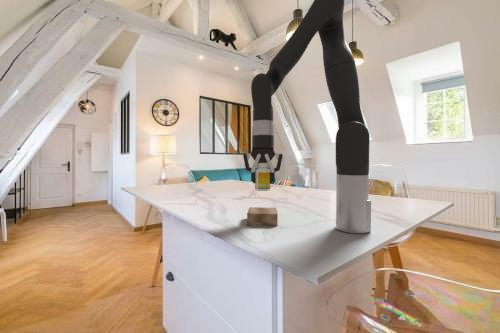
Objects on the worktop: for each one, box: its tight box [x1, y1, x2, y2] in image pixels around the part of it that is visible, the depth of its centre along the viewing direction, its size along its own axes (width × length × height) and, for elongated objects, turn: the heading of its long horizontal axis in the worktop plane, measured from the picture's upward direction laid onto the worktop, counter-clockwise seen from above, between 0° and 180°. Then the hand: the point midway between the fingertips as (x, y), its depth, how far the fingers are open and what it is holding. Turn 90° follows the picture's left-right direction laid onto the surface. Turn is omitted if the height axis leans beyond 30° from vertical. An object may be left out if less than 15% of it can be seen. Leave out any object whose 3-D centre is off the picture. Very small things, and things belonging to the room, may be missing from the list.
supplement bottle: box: [254, 163, 271, 192], centre depth 81 cm, size 5×5×10 cm
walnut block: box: [246, 206, 279, 227], centre depth 82 cm, size 10×10×4 cm
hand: (262, 183), depth 81 cm, fingers closed on supplement bottle, 5 cm apart
